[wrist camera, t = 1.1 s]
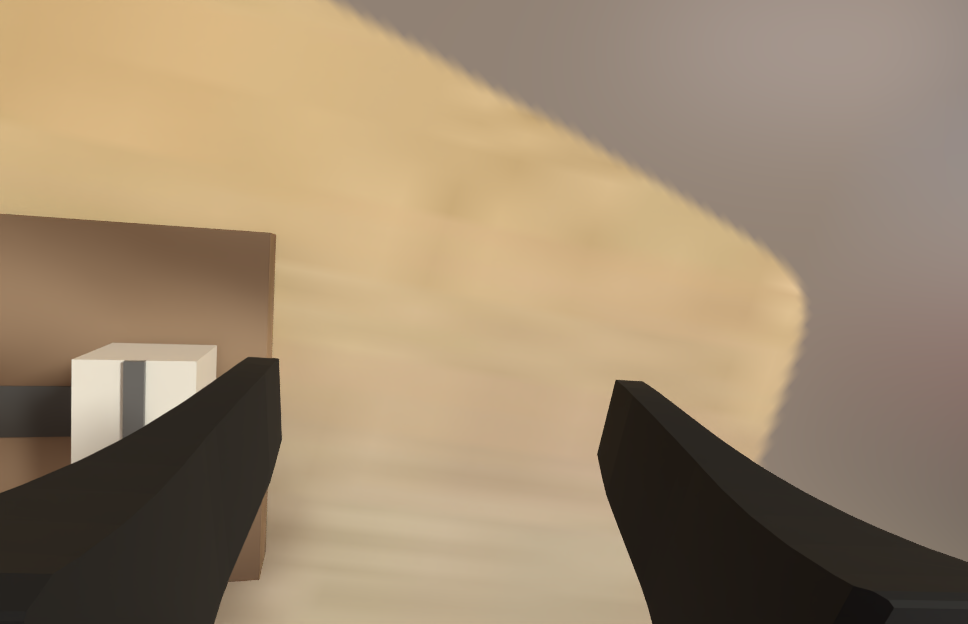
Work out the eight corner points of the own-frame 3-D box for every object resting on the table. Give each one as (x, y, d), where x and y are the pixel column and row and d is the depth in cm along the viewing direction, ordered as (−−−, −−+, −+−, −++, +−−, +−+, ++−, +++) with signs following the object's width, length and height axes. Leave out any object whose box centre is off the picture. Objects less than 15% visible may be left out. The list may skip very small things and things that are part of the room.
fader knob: (213, 479, 19) (191, 521, 16) (111, 483, 19) (68, 527, 16) (216, 345, 19) (195, 362, 16) (112, 342, 18) (68, 360, 15)
